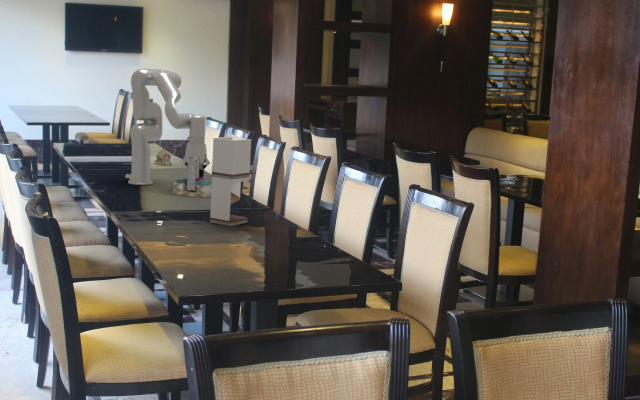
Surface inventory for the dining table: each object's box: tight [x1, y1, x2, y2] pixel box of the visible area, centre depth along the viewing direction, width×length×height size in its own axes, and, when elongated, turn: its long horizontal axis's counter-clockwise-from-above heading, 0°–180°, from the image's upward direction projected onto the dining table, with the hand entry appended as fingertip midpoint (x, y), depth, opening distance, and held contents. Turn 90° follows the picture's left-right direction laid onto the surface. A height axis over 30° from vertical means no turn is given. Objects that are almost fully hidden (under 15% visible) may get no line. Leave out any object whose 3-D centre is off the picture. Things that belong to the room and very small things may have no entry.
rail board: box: [171, 177, 212, 199], centre depth 399 cm, size 18×14×6 cm
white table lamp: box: [209, 136, 252, 227], centre depth 331 cm, size 11×11×35 cm
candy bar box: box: [186, 157, 205, 191], centre depth 398 cm, size 11×5×16 cm, turn 168°
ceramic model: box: [153, 148, 173, 167], centre depth 503 cm, size 14×11×10 cm
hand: (195, 176), depth 398 cm, fingers closed on candy bar box, 5 cm apart
